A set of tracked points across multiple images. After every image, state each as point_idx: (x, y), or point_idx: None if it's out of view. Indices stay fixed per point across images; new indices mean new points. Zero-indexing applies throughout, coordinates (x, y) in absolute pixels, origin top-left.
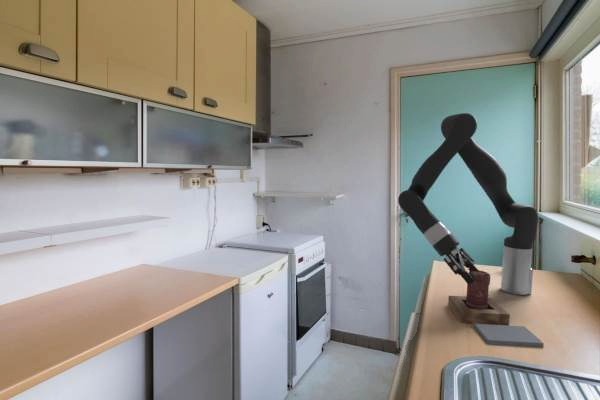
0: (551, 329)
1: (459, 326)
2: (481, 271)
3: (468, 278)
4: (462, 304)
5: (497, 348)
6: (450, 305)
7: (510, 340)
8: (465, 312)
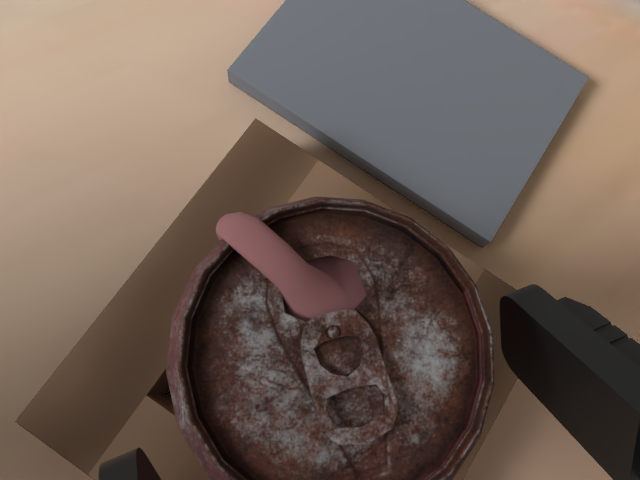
0: (72, 8)
1: (563, 296)
2: (191, 399)
3: (609, 326)
4: None
5: (572, 40)
6: None
7: (481, 18)
8: None
